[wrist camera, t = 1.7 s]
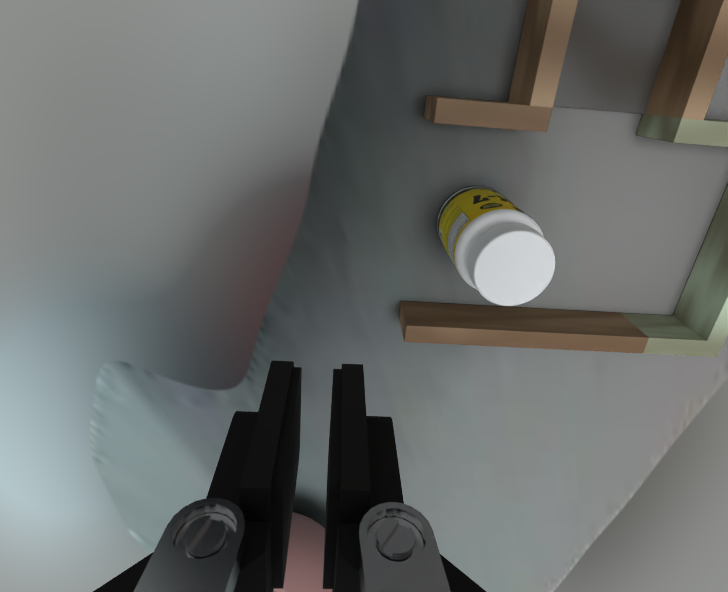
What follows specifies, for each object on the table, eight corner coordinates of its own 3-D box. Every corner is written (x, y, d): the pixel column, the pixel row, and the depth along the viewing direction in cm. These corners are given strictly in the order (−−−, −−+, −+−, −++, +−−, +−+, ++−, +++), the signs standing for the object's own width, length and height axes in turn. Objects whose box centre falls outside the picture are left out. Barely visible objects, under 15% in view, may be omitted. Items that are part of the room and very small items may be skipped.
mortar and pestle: (209, 480, 39) (160, 627, 28) (351, 478, 39) (353, 622, 29) (223, 571, 44) (186, 723, 34) (348, 569, 44) (350, 718, 34)
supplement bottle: (521, 198, 29) (583, 241, 22) (489, 264, 31) (536, 324, 23) (453, 174, 28) (492, 209, 21) (424, 243, 30) (450, 298, 23)
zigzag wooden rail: (445, -60, 23) (461, -81, 20) (833, -18, 25) (905, -32, 21) (398, 316, 32) (404, 341, 29) (682, 330, 34) (716, 356, 31)
